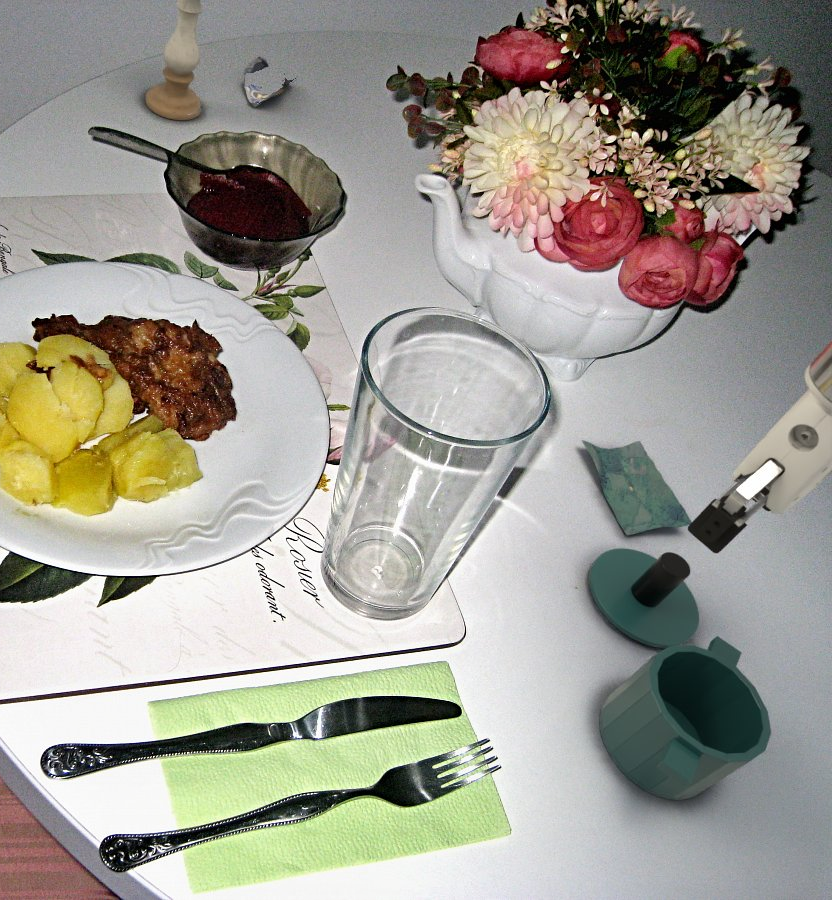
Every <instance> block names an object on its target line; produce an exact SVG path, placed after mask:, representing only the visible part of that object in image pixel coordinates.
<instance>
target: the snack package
mask: <svg viewBox="0 0 832 900" xmlns="http://www.w3.org/2000/svg"><path fill="white" fill-rule="evenodd" d="M248 64H249V65H248ZM248 64H247V66H246V67H245V69H244V73H245V74H246V73H254V72H256V71H259V70H262V69H266V68H268V69H271V67H269V63H268V61H267V59H266V57H264V56H263V57H261V56H260V55H259V56H257V57H255V58H254V59H253V60H252V61H250V62H248ZM284 75H285V73H284ZM295 79H296V78H295ZM284 80H285V82H284V84H282V86H283V87H282V88H280V89H279V90H278V91H276V92H273V93H272V94H271V95H270V94H269V95H268V91H267V92H266V91H265V92H264V89H263V90H262V87H260V88H259V87H257V86H254V85H252V84H251V86H250V85H249V86H248V87H245V86H244V90H245V92H246V97H247V100H248V102H249V103H250V104H251V105H252V106H253V108H254V109H255V108H256V107H258V106H259V105H260V104H262V103H260V104H257V103H259V101H260V100H261V99H265V100H263V102H265V101H267V100H269V99H271V98H270V97H271V96H274V97H276V96H275V95H277V96H279V95H281V94H283V92H284V91H285V90H286V89H287V88H288V87H289V86H290V85H289V83H290V82H292V81H293V80H294V79H293V80H287V79H286V78H285V79H284ZM284 80H282V81H284ZM296 80H297V79H296ZM292 83H293V82H292ZM290 84H291V83H290ZM288 85H289V86H288ZM285 88H286V89H285ZM284 89H285V90H284ZM280 93H281V94H280ZM278 94H279V95H278ZM268 98H269V99H268ZM254 102H255V103H254Z"/></svg>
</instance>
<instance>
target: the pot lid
mask: <svg viewBox="0 0 832 900" xmlns="http://www.w3.org/2000/svg"><path fill="white" fill-rule="evenodd" d="M589 569H590V570H589V572H588V583H589V584H588V585H589V589H590V590H589V591H590V593H591V595H592V598H593V600H594V602H595V604H596V606H597V607H598V609H599V610H600V612H601V613H602V614H603V616H604V617H605V618H606V620H608V621H609V622H610V623H611V624H612V625H613V626H614V627H615V628H616V629H617V630H619V631H620V632H621V633H623V634H624V635H625V636H628V637H629V638H631V639H633V640H635V641H636V642H639V643H641V644H644V645H646V646H650V647H653V648H659V649H660V648H661V649H666V648H667V647H669V646H671V645H685V643H687V642H688V641H690V639H692V637H694V635H695V634H696V632H697V630H698V627H699V622H700V614H699V607H698V604H697V601H696V598H695V597H694V594H693V593H692V591H691V589H690V588H689V587H688V585H687V584H686V582H685V580H687V579H688V578H689V576H690V575H691V567H690V564H689V563H688V561H687V560H686V559H685V558H684V557H682V556H681V555H679V554H678V553H675V552H671V551H667V552H663V553H662V554H661V555H660V556H659V557H658V558H656V557H654V556H652V555H650V554H647V553H646V552H643V551H640V550H637V549H633V548H624V547H622V548H621V547H620V548H613V549H609V550H607V551H604V552H602V553H601V554H600V555H599V556H598V557H597V558H596V559H594V561H593V562H592V564H591V566H590V568H589Z"/></svg>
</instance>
